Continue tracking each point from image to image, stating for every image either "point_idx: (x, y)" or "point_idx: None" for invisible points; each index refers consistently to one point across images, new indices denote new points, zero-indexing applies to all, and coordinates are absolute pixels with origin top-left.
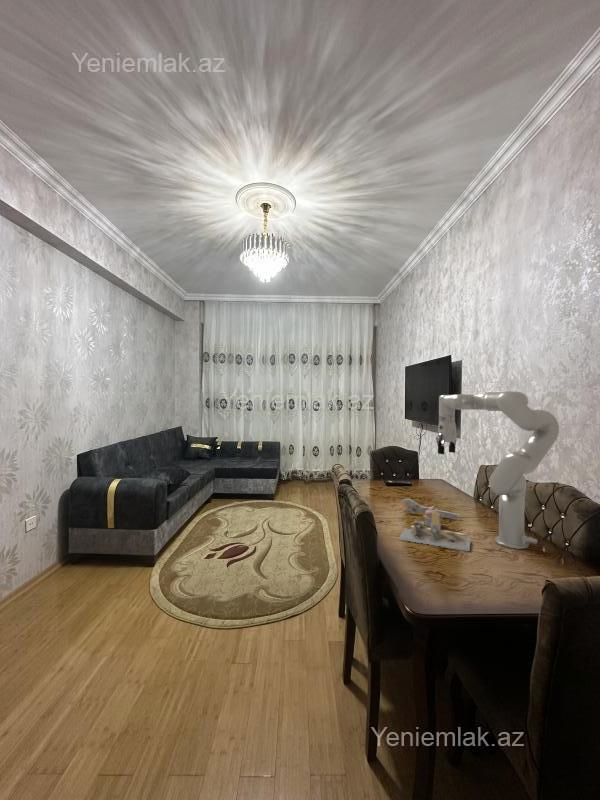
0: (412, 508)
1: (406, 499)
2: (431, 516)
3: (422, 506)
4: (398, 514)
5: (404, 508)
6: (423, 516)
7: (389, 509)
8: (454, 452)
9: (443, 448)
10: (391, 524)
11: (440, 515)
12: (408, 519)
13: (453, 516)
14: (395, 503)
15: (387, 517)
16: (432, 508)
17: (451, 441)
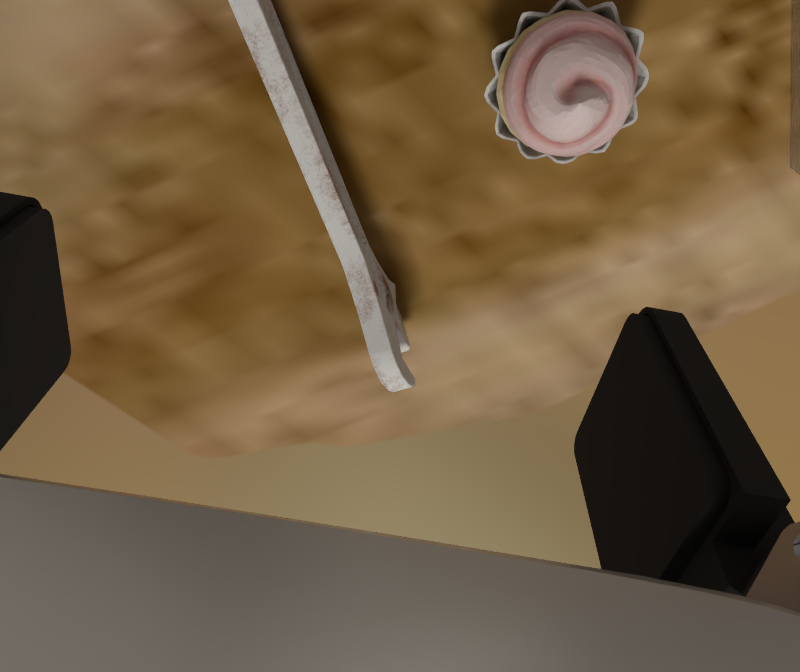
0: (390, 305)
1: (403, 375)
2: (636, 73)
3: (347, 260)
4: (457, 343)
5: (406, 346)
6: (606, 145)
7: (399, 417)
8: (36, 200)
9: (740, 435)
10: (689, 288)
11: (585, 14)
12: (516, 257)
13: (267, 14)
14: (255, 443)
15: (564, 361)
16: (601, 99)
17: (284, 518)
